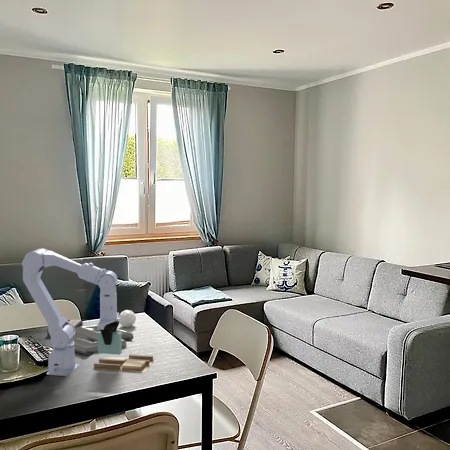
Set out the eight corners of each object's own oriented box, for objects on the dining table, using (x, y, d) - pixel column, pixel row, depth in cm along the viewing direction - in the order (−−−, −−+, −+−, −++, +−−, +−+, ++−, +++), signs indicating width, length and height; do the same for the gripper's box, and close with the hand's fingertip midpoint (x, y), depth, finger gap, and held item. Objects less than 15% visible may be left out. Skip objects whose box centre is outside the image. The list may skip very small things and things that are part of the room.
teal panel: (119, 354, 165) (119, 334, 164) (98, 353, 166) (97, 332, 165) (121, 352, 167) (121, 332, 166) (100, 351, 168) (100, 330, 167)
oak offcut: (140, 368, 162) (140, 366, 162) (121, 367, 164) (121, 365, 163) (145, 363, 167) (145, 361, 167) (126, 362, 168) (126, 359, 168)
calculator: (82, 319, 216) (72, 327, 201) (82, 328, 216) (72, 337, 201) (59, 319, 215) (46, 327, 200) (59, 328, 216) (47, 337, 201)
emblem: (48, 342, 180) (77, 320, 207) (48, 355, 180) (78, 332, 208) (118, 345, 177) (139, 323, 205) (119, 358, 177) (139, 335, 205)
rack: (144, 375, 161) (144, 368, 161) (92, 371, 164) (92, 364, 164) (154, 362, 173) (154, 355, 173) (106, 358, 176) (106, 352, 176)
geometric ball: (130, 333, 214) (132, 322, 209) (114, 326, 215) (116, 315, 210) (137, 321, 220) (139, 310, 215) (122, 314, 221) (124, 304, 216)
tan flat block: (140, 371, 162) (140, 368, 162) (121, 369, 164) (121, 367, 164) (145, 365, 167) (145, 363, 167) (126, 364, 168) (126, 362, 168)
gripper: (111, 311, 157) (111, 351, 158) (126, 301, 171) (127, 337, 173) (91, 310, 158) (92, 349, 159) (108, 300, 172) (109, 336, 174)
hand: (109, 343), depth 166 cm, fingers closed on teal panel, 2 cm apart
